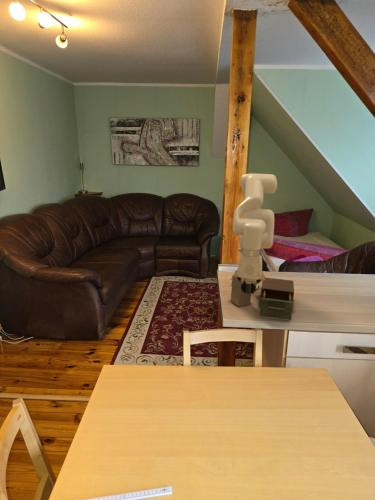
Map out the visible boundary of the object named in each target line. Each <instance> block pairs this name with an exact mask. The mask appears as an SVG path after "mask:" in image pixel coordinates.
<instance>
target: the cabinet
mask: <svg viewBox="0 0 375 500" xmlns="http://www.w3.org/2000/svg"><path fill="white" fill-rule="evenodd" d="M264 290H269V291H277V292H286V293H291V301H292V302H293V303H294V296H295V284H294V280H291V279H283V278H273V277H265V280H263V281H261V287H260V298H259V307H260V306H261V298H263V294H264Z"/></svg>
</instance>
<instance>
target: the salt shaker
mask: <svg viewBox="0 0 375 500" xmlns="http://www.w3.org/2000/svg"><path fill="white" fill-rule="evenodd" d="M252 286H253V280H251V279H246V280H245V285H244V293H247V294H251V295H252Z"/></svg>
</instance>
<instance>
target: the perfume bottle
mask: <svg viewBox="0 0 375 500" xmlns="http://www.w3.org/2000/svg"><path fill="white" fill-rule="evenodd" d="M236 271H237V270H234V273H235V272H236ZM233 275H234V274H232V276H231V277H232V280H231V290H230V291H231V293H230V302H231V303H232V304H234V305H236V306H237V307H238V308H239V307H244V306H248V305H251V303H252V302H251V300H252V293H251V294H247V293H244V292H242V290H241V282H240V281H239V280H238V279H237V278H236V277H234V276H233ZM245 280H246V278H245V279H244V281H245ZM251 280H252V279H251Z"/></svg>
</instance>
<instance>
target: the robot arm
mask: <svg viewBox="0 0 375 500" xmlns="http://www.w3.org/2000/svg"><path fill="white" fill-rule="evenodd" d="M239 185H240V189H241V192H242V195H243V201H242V202H240V203H239V204H238V206H236V208H235V209H234V212H233V216H232V232H233V234H234V235H236V236H238V242H239V247H238V252H239V257H238V262H237V269H236V270H235V271H236V272H235V271H234V273H233V274H232V275H233V276H234V277H236V278H237V279H238V280H239V281H240V282H241V290H242V292H244V285H245V281H244V279H245V278H246V279H252V280H253V286H252V293H251V295H252V294H255V292H256V291H257V289H258V288H259V284H260V283H262V281H263V280H265V278H266V276H265V274H264V272H263V257H262V254H261V252H262V251H261V249H271V248H272V247H273V245H274V238H275V237H274V236H275V231H274V230H275V213H274V211H273V210H272V209H268V208H267V209H266V208H261V207H262V206H263V204H264V194H274V193H276V192H277V189H278V180H277V176H276V175H275V174H272V173H244V174H242V176H241V177H240V182H239ZM241 216H242V217H241ZM229 280H230V281H232V276H230V277H229Z"/></svg>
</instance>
